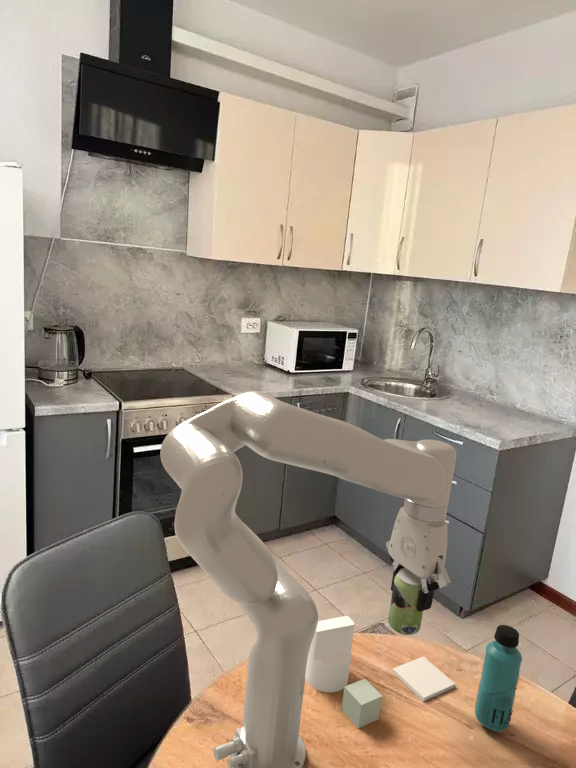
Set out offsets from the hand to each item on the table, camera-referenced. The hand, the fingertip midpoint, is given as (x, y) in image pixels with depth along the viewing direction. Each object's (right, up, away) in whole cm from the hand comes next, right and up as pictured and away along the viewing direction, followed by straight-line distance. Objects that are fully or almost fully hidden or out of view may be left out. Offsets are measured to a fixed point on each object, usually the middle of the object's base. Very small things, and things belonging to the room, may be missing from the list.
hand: (410, 598), depth 103 cm
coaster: (+5, -21, +12) cm, 25 cm away
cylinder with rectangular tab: (-15, -20, +10) cm, 27 cm away
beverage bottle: (+15, -25, +2) cm, 29 cm away
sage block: (-9, -22, +1) cm, 24 cm away
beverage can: (-1, -7, +1) cm, 7 cm away
